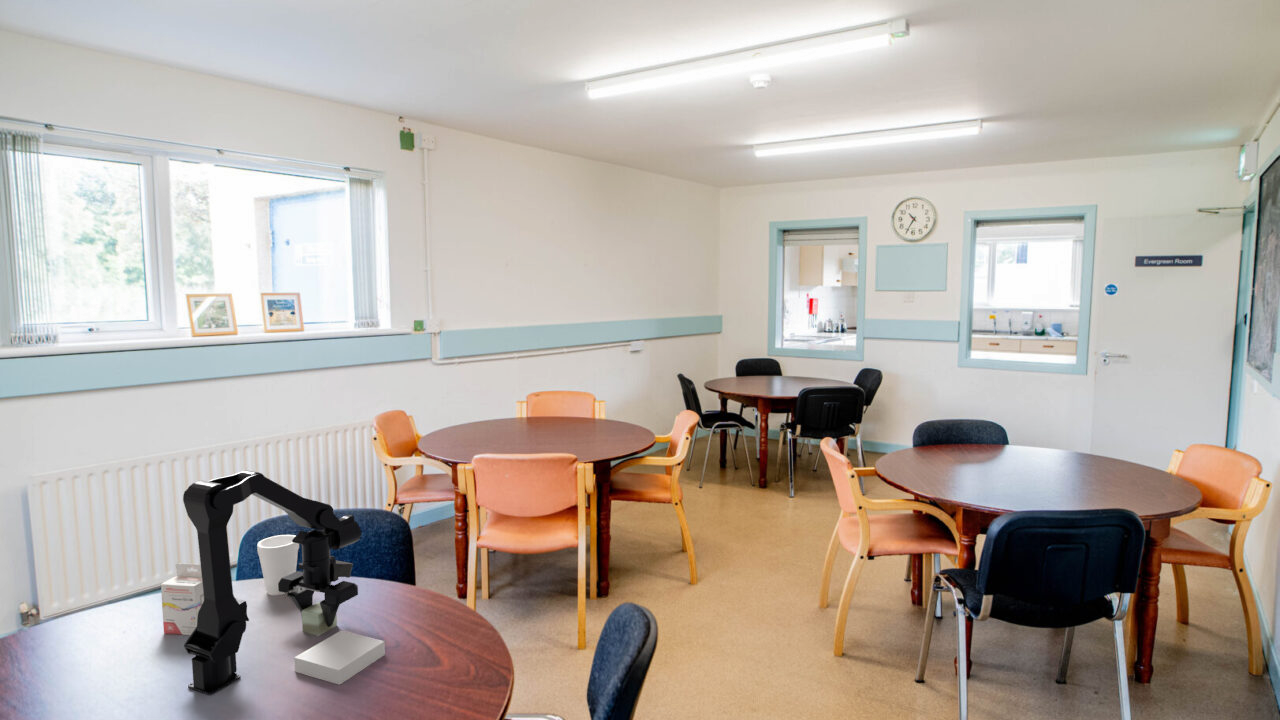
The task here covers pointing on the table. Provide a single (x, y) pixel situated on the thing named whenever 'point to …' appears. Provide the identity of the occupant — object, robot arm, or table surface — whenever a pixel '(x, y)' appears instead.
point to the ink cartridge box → (182, 600)
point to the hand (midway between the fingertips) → (319, 623)
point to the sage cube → (315, 620)
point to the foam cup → (277, 560)
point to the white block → (339, 657)
